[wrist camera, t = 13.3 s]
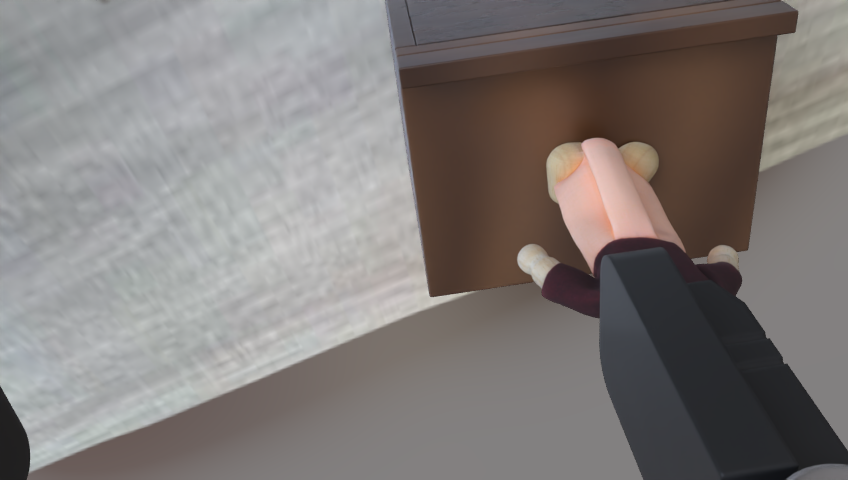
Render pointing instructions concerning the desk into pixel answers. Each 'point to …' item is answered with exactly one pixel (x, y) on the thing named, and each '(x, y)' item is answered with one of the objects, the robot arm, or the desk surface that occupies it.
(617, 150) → the grandmother figurine
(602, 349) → the robot arm
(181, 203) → the desk surface
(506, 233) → the rack
